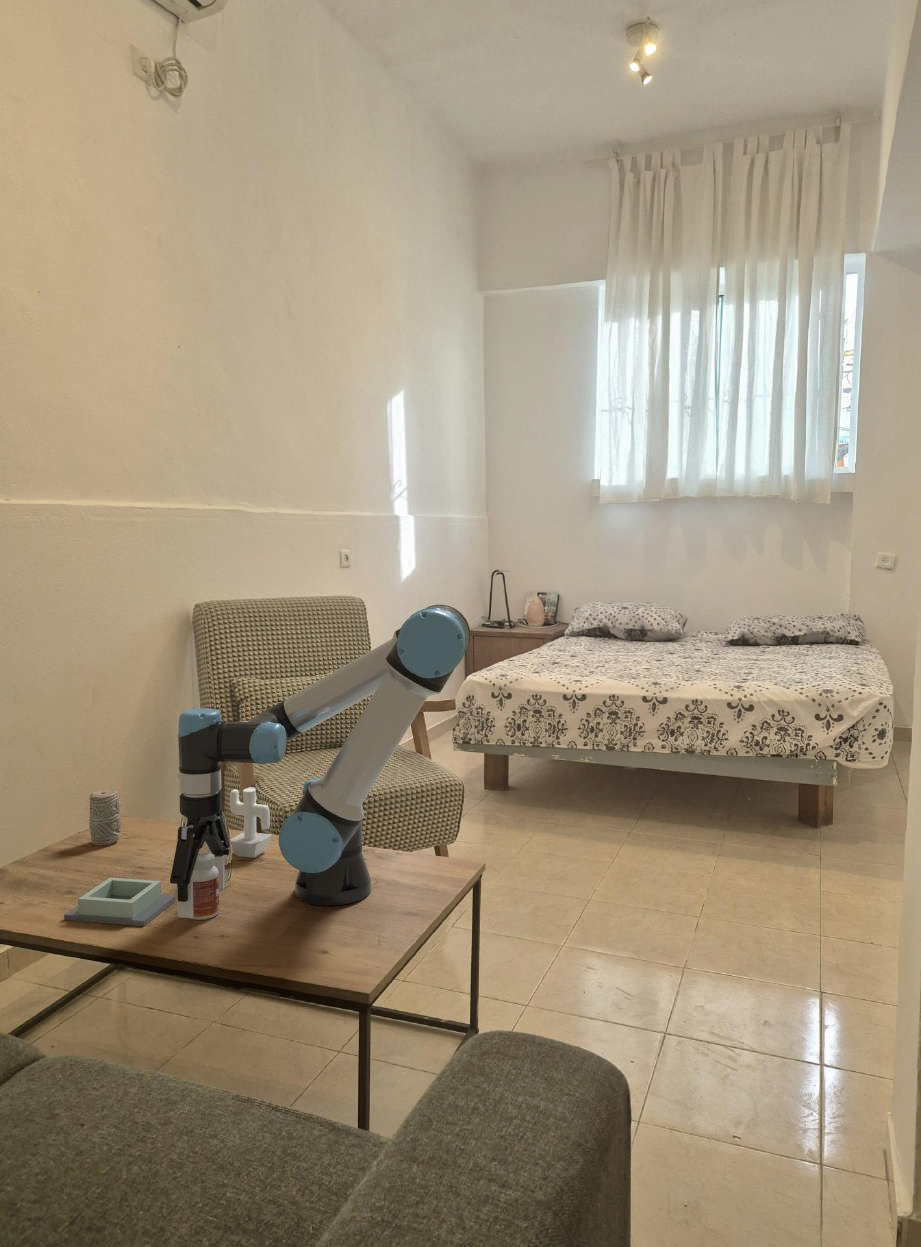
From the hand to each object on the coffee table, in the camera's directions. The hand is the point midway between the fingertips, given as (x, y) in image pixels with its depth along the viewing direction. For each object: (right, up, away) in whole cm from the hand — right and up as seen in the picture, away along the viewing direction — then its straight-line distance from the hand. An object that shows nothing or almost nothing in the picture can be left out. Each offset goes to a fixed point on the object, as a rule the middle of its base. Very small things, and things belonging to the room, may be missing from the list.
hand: (202, 902), depth 169 cm
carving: (-34, +1, +40) cm, 52 cm away
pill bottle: (0, -3, 0) cm, 2 cm away
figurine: (+1, 0, +33) cm, 33 cm away
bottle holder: (-16, -2, +2) cm, 16 cm away
